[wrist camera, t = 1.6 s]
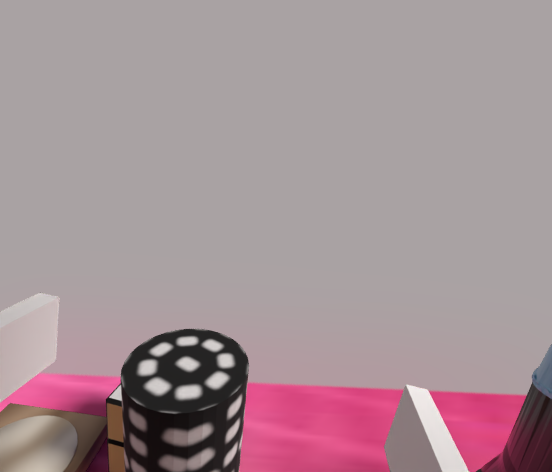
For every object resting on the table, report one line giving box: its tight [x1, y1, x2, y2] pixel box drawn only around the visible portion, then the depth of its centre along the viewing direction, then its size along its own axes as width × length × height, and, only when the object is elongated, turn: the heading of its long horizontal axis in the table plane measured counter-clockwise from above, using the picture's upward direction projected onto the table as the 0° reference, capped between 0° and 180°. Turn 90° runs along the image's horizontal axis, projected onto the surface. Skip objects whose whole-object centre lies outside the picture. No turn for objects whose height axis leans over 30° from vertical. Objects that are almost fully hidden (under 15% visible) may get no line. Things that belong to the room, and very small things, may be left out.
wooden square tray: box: [0, 403, 108, 472], centre depth 33 cm, size 12×12×2 cm
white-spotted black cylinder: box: [121, 329, 249, 472], centre depth 25 cm, size 8×8×20 cm
